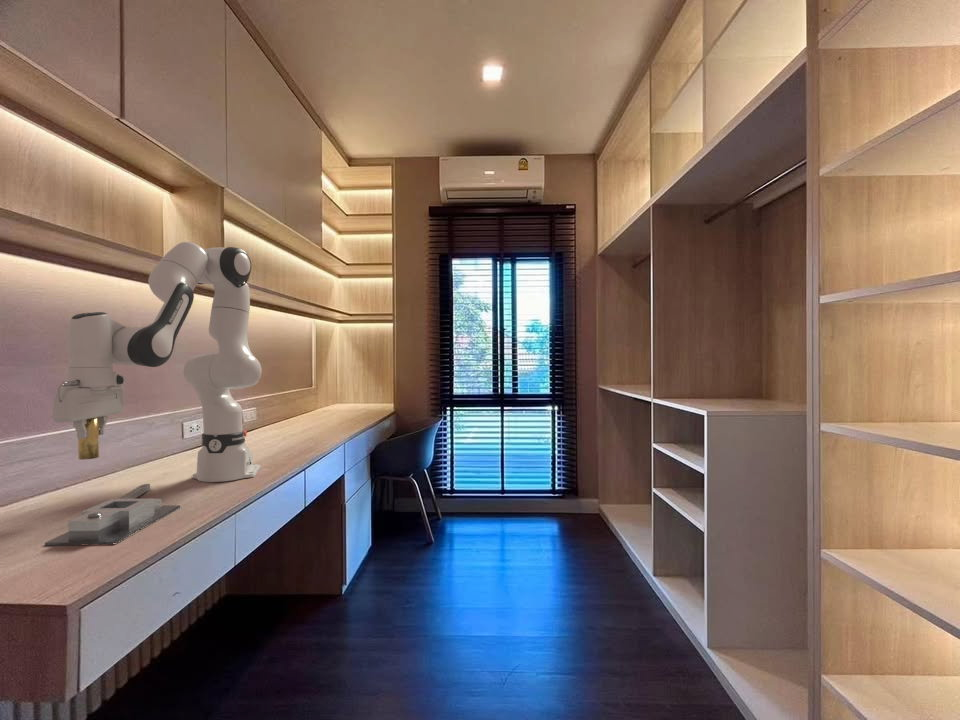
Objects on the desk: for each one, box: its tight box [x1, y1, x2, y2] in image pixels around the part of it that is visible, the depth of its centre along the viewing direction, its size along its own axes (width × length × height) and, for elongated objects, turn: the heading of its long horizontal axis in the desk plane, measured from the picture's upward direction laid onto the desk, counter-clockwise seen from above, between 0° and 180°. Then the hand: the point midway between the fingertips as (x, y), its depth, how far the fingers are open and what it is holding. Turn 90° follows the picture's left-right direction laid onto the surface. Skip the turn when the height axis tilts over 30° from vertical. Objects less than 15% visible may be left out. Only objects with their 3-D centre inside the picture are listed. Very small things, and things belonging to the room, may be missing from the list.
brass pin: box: [77, 417, 100, 461], centre depth 129 cm, size 4×4×10 cm
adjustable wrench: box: [118, 483, 151, 499], centre depth 142 cm, size 25×6×2 cm, turn 11°
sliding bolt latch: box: [44, 497, 181, 547], centre depth 123 cm, size 26×14×5 cm, turn 3°
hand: (91, 436), depth 129 cm, fingers closed on brass pin, 4 cm apart
